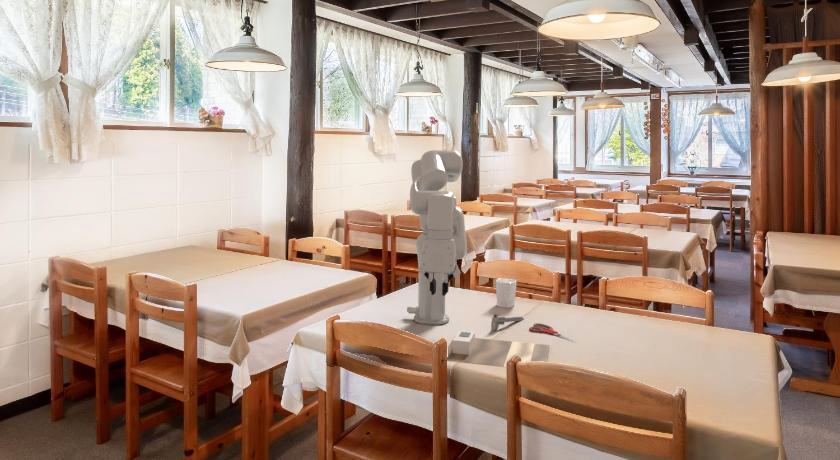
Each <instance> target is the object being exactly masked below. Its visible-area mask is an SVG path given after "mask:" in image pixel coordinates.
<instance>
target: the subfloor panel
mask: <svg viewBox="0 0 840 460" xmlns="http://www.w3.org/2000/svg"><path fill="white" fill-rule="evenodd" d="M454 338H455V336H453V339H454ZM453 339H452V340H451V342H450V344H448V346H447V348H448V357H447V361H448V362H454V363H465V364H471V365H481V366H482V365H484V366H493V367H500V368H501V367H502V368H507V367H506V362H507V361H508V360H509V359H510V358H511V356H513V355H519V356H520V357H521V358H522V362H526V361H544V362H547V363H548V357H549V356H548V355H549V349H550V344H541V343H532V342H531V343H530V342H522V341H510V340H499V339H490V338H489V339H487V338H482V337H481V338H480V337H479V338H478V337H475V344H474V347H473V349H472V350H471V352H470V354H469V355H467V354H457V353H453ZM447 361H446V362H447Z"/></svg>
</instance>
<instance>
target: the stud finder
mask: <svg viewBox="0 0 840 460" xmlns="http://www.w3.org/2000/svg"><path fill="white" fill-rule="evenodd" d="M475 336H476V333H475V332H472V331H462V330H459V331H457V333H456V335H455V336H454V337H455V338H454V337H453V339H452V340H453V353H457V354H467V355H469V354H470V352H471V350H472V349H473V347H474V344H475V338H476V337H475Z"/></svg>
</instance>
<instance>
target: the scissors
mask: <svg viewBox="0 0 840 460" xmlns="http://www.w3.org/2000/svg"><path fill="white" fill-rule="evenodd" d="M528 331H529V332H531V333H540V334H547V335H551V336H555V337H558V338H561V339H563V340H566V341H569V342H571V343H575V344H577V341H574V340H572V339H571V338H569V337H567V336H565V335H563V334H560V333H559V332H557V331H556V330H554V327H552V326H550V325H547V324H546V323H545V324H544V323H534V324H533V326H530V327H529V328H528Z"/></svg>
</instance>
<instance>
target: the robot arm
mask: <svg viewBox="0 0 840 460" xmlns="http://www.w3.org/2000/svg"><path fill="white" fill-rule="evenodd" d="M463 162H464V161H463V157H462V154H461V153H460V152H458V151H457V150H448V149H447V150H441V149H440V150H439V149H438V150H437V149H435V150H428V151H426V152H424V153H423V154H422V156H421V157H420V159H418V160H415V161H413V163H412V165H411V180H412V184H411V186H410V190H409V203H410V205H409V206H410V209H411V211H412V213H413V214H414V215H418V217H419V226H420V228H421V230H422V233H421V234H420V235H418V236H417V238H416V241H415V242H416V243H415V245H416V253H417V254H416V255H417V263H418V264H417V265H418V270H417V271H418V292H417V293H418V294H417V295H418V301H417V303H418V304H417V306H414V307H413V306H407V308H406V312H407V313H408V314H411V315H412V314H414V316H413V321H414V322H415V323H418V324H419V325H426V326H427V325H428V326H437V325H438V326H439V325H443V324H444V325H445V324H447V323H448V322H450V316H449V315H448V314H446V295H447V294H448V293H449V282H450V281H451V280H453V278H456V277H458V276H460V275H461V270H460V268H459V266H458V264H457V263H458V262H457V261H458V260H461V259H463V258H464V257H465V256H466V254H467V237H466V236H467V234H466V225H465V216H464V212H463V210H462V208H460V207H459V206H457V197H456V196H455V194H454V192H452V191H448V190H442V189H444V188H445V186H447V184H448V183H455V182H457V181H458V180H459V178H460V177H461V175H462V172H463V166H464V163H463Z"/></svg>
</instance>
